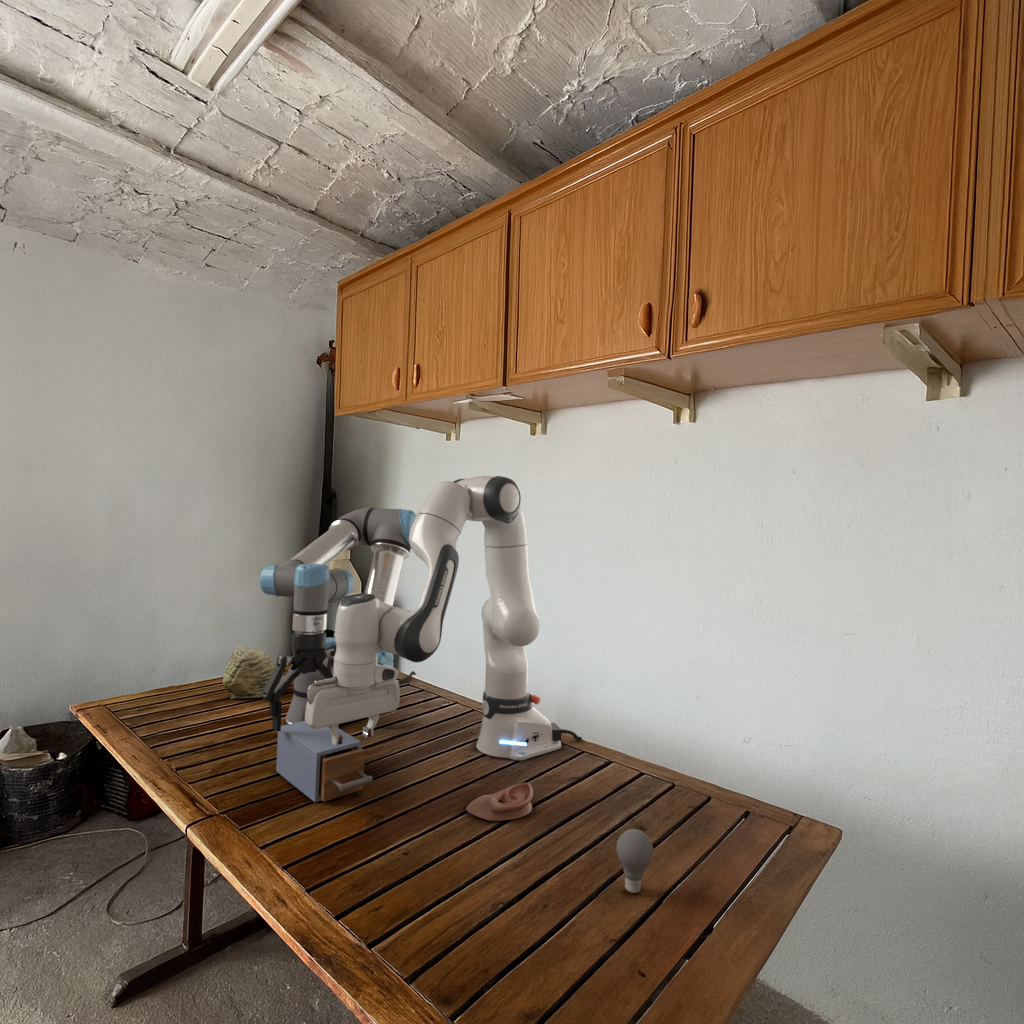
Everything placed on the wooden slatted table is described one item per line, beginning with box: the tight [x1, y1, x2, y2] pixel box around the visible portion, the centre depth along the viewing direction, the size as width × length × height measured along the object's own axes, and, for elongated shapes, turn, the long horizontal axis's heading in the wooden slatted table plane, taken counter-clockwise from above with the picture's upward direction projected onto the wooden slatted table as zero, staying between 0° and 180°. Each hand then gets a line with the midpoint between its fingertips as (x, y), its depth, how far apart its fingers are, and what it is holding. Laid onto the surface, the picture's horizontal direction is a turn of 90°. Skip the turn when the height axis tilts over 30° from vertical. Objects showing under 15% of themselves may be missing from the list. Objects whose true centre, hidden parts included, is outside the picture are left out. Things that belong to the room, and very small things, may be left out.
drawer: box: [319, 747, 373, 803], centre depth 137 cm, size 23×9×8 cm, turn 44°
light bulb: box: [615, 828, 654, 894], centre depth 106 cm, size 6×6×10 cm
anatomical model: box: [465, 782, 534, 822], centre depth 132 cm, size 13×4×12 cm
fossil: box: [222, 646, 285, 699], centre depth 198 cm, size 9×18×15 cm, turn 132°
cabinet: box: [275, 721, 362, 803], centre depth 142 cm, size 19×10×10 cm, turn 44°
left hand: (305, 723), depth 146 cm, fingers open, 13 cm apart
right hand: (352, 740), depth 131 cm, fingers open, 6 cm apart
